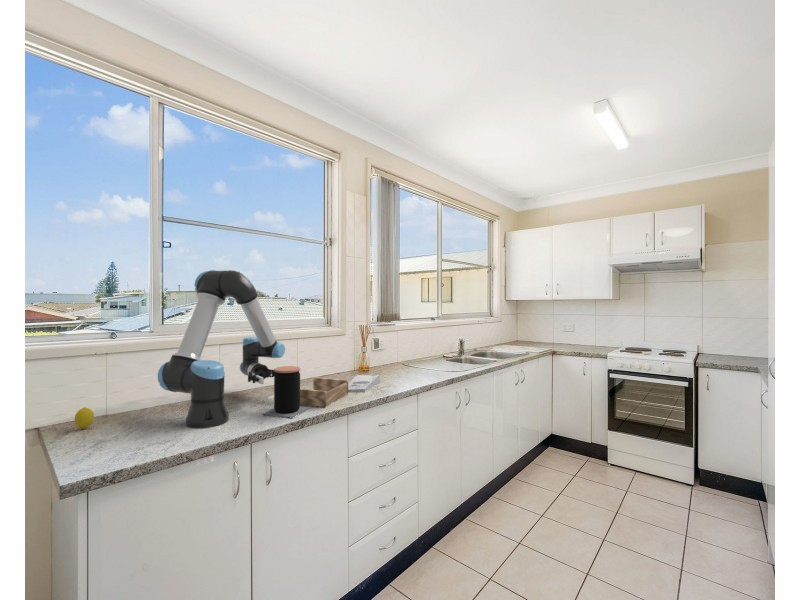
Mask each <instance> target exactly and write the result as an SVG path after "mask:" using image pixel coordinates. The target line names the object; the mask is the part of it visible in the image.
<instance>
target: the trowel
mask: <svg viewBox="0 0 800 600" xmlns="http://www.w3.org/2000/svg"><path fill="white" fill-rule="evenodd" d="M377 384H378V385H379V384H381V374H377V375H368V374H367V375H366V374H364V375H363V374H356V375H355V376H354V377H353V378H352V380H350V382H348V393H365V391H366V392H368V391H370V390H371V389H373V388H374V387H376V386H378V385H377ZM375 385H376V386H375ZM372 387H373V388H372ZM370 388H371V389H370ZM367 390H368V391H367Z"/></svg>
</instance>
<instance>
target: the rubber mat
mask: <svg viewBox="0 0 800 600" xmlns="http://www.w3.org/2000/svg"><path fill="white" fill-rule="evenodd" d="M308 409H309V410H311V406H303V405H300V408H299V409H298V411H296V412H294V413H288V414H281V413H277V412H276V411H275V409H274V408H271V409H270V410H268V411H265V412H263V413H262V415H263V416H268V415H269V416H270V417H276V416H278V418H284V417H291V418H290V419H294V418H296V417H297V416H296V415H298V414H300V413H301V414H303V413H305V412H307V411H308ZM306 410H307V411H306ZM304 411H305V412H304ZM302 412H303V413H302ZM301 414H300V415H301ZM295 416H296V417H295ZM298 416H299V415H298ZM293 417H294V418H293Z"/></svg>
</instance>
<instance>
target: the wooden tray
mask: <svg viewBox="0 0 800 600" xmlns="http://www.w3.org/2000/svg"><path fill="white" fill-rule="evenodd" d="M312 381H313V383H312V385H313V386H312V387H313V388H312V389H308V388H307V389H306V388H300V406H307V405H310V406H309V407H316V406H319V407H318V408H326V406H327V407H328V406H330V405H332V404H333V402H334V403H336V402H337V401H338V399H339V400H341V399H342V398H344V397H346V396H348V395H349V392H348V384H349V380H348V379H336V378H324V377H313V379H312ZM340 398H341V399H340ZM331 403H332V404H331ZM329 404H330V405H329Z"/></svg>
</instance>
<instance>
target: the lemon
mask: <svg viewBox="0 0 800 600" xmlns="http://www.w3.org/2000/svg"><path fill="white" fill-rule="evenodd" d="M94 419H95V414H94V412H93V410H92V409H91V408H89V407H88V408H87V407H85V406H84V407H82V408H80V409H79V410H77V412H76V414H75V415H74V423H75V425H76V427H78V428H81V429H82V430H86V429H87V428H88V427H89V426H91V425H92V424H93V422H94Z"/></svg>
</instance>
